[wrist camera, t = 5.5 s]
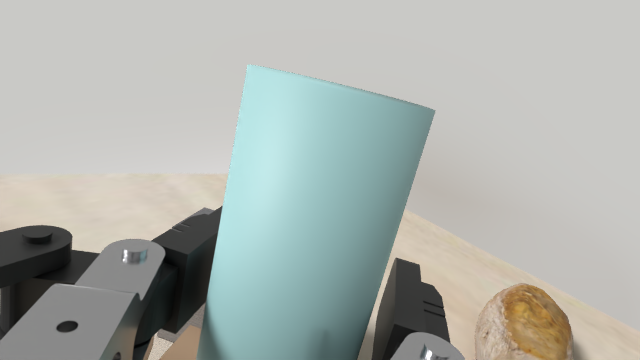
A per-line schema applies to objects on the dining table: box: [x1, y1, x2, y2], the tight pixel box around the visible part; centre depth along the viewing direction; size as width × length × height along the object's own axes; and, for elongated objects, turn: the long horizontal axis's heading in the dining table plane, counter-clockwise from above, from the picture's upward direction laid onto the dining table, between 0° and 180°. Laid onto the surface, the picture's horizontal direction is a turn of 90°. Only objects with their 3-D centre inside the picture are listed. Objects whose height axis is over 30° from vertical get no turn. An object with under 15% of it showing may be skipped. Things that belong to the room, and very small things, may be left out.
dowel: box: [196, 65, 435, 360], centre depth 10 cm, size 4×4×14 cm
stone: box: [475, 283, 573, 360], centre depth 23 cm, size 5×14×4 cm, turn 145°
